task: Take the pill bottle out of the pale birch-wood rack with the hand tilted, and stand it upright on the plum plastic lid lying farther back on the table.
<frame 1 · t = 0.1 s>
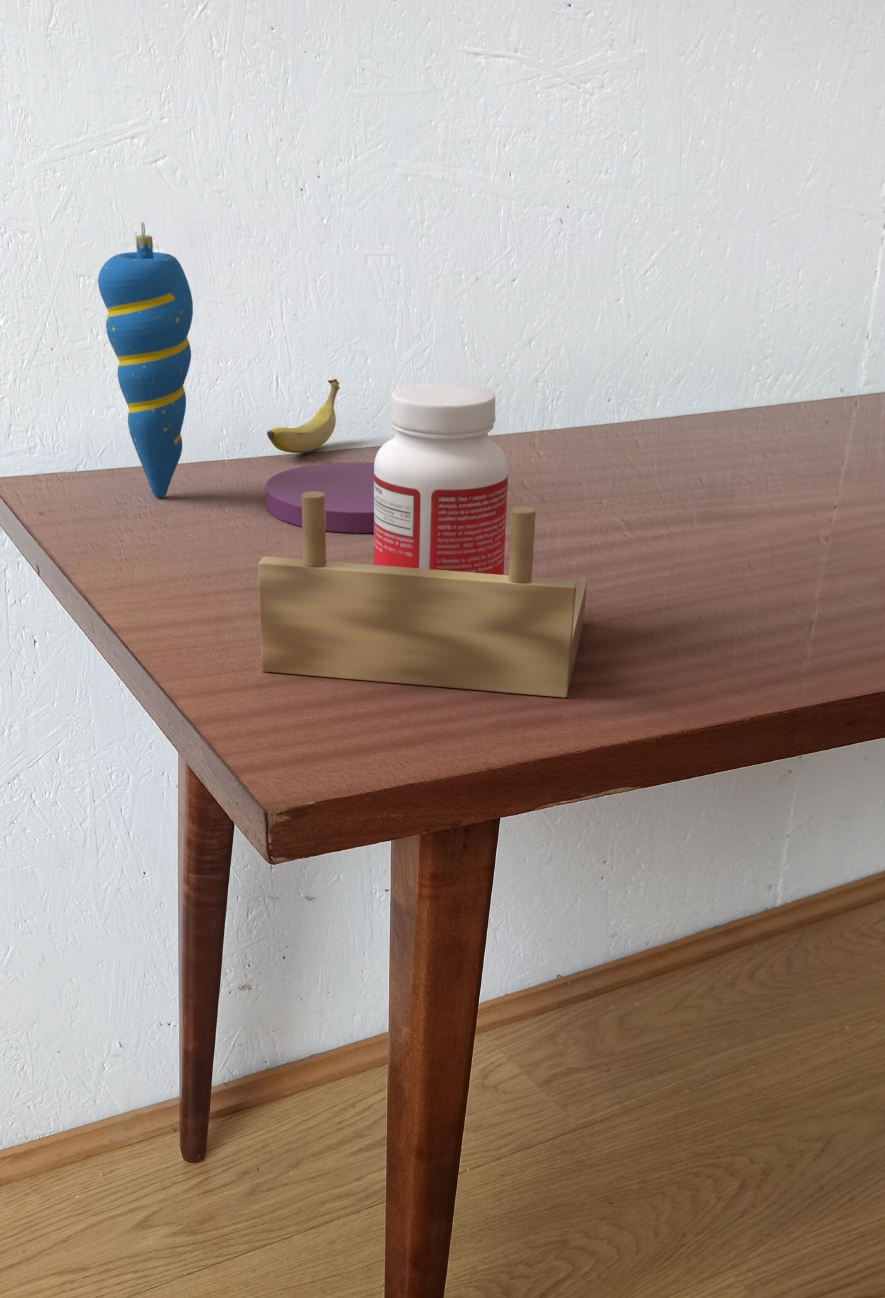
rack: (437, 631, 74), on the table
banana: (306, 453, 102), on the table
pill bottle: (436, 635, 74), on the table
ornament: (160, 499, 92), on the table
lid: (358, 506, 92), on the table
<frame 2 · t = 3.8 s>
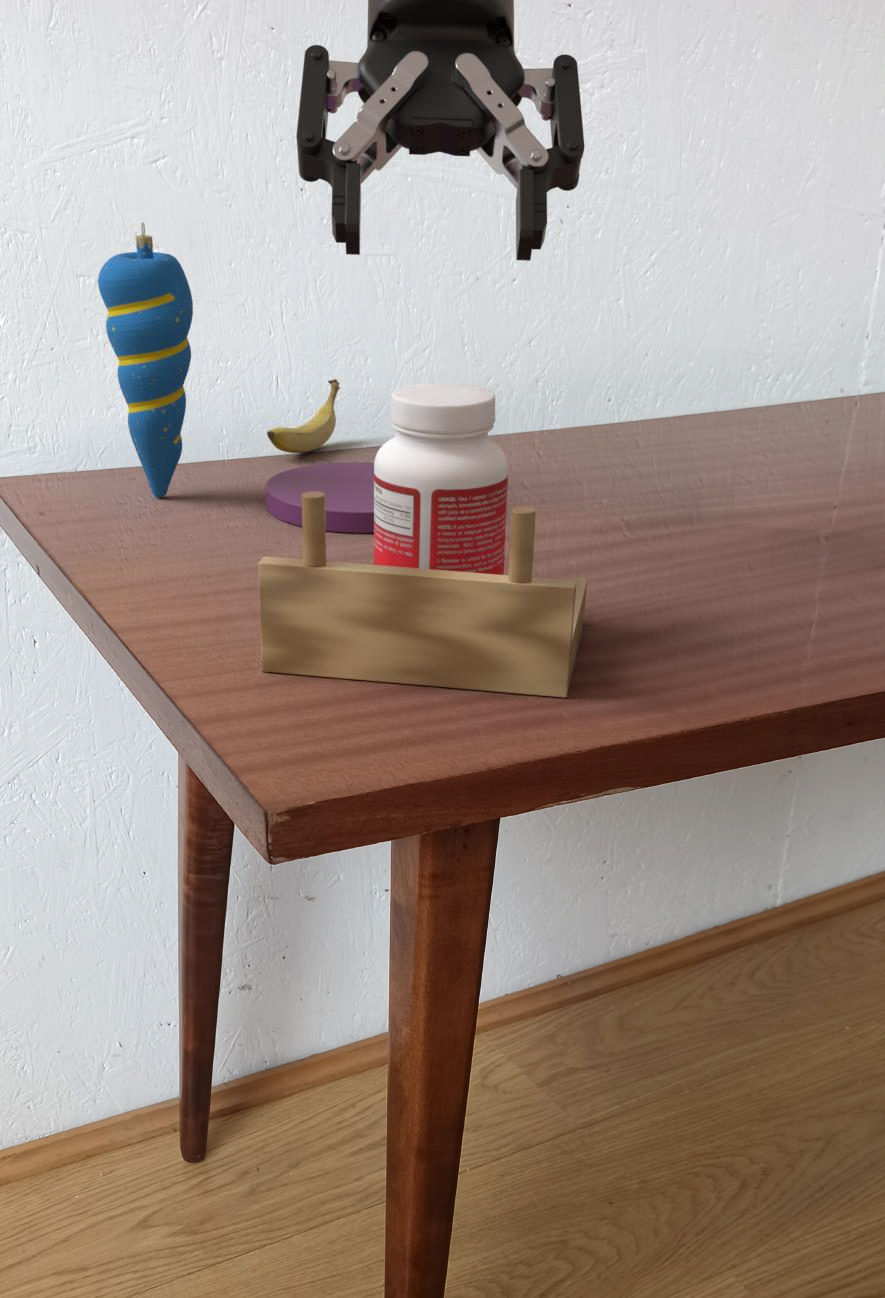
hand: (439, 247, 75), 16 cm above the table, tool tilted 45°, fingers open, 8 cm apart
nothing on the table moved.
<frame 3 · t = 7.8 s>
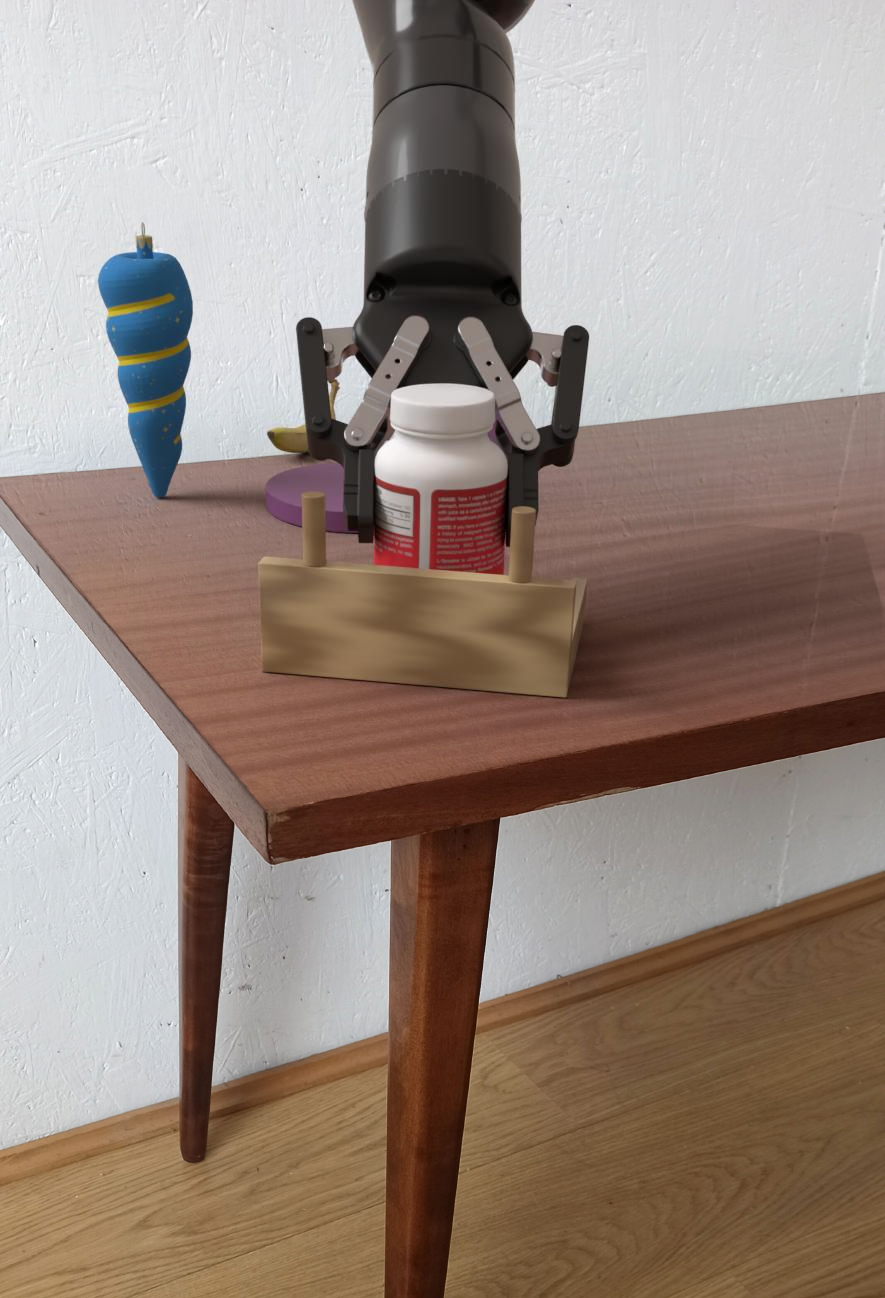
hand: (440, 536, 70), 5 cm above the table, tool tilted 45°, fingers closed on pill bottle, 6 cm apart
pill bottle: (437, 635, 74), on the table, touching gripper
everything else where it was.
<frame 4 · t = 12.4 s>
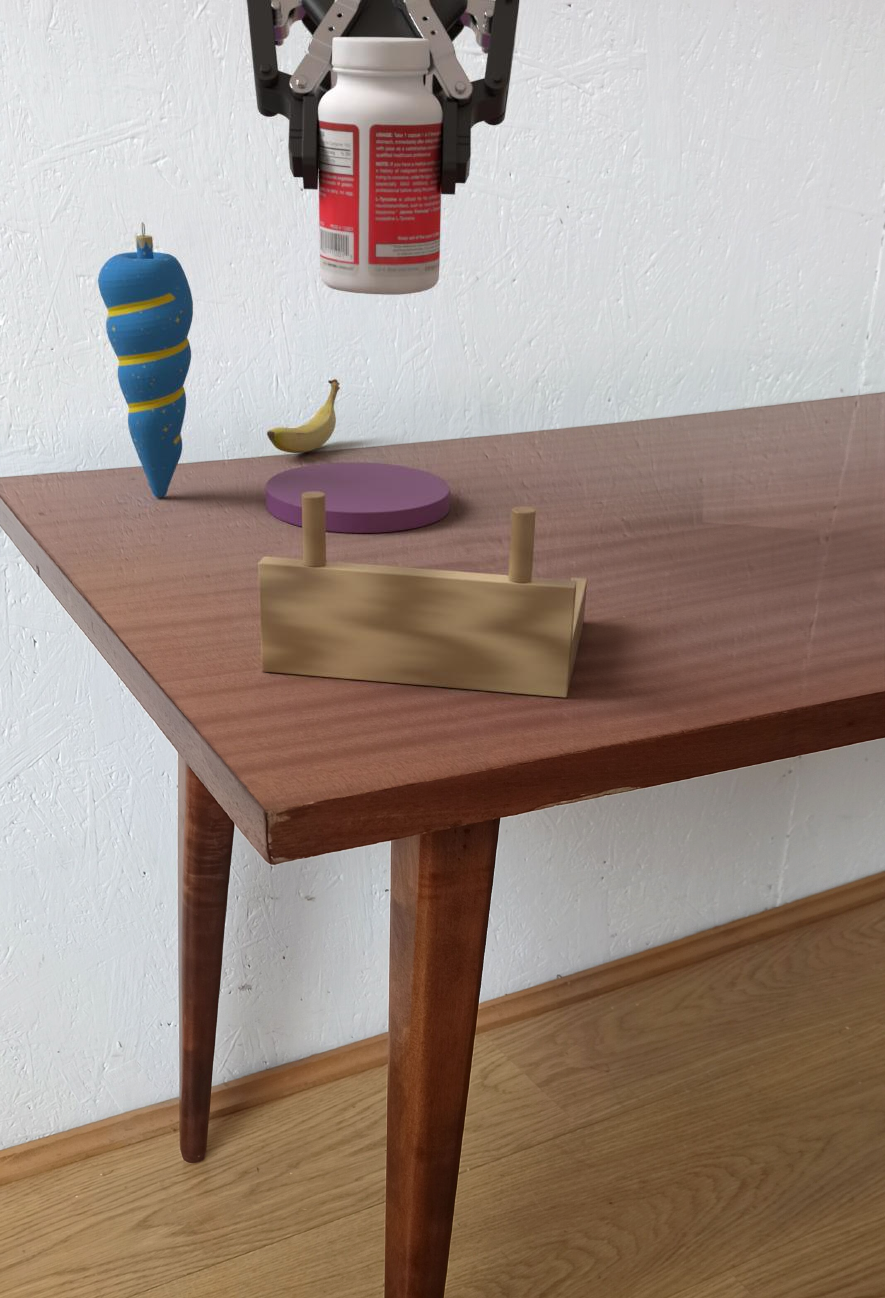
hand: (379, 179, 75), 18 cm above the table, tool tilted 45°, fingers closed on pill bottle, 6 cm apart
pill bottle: (379, 290, 79), point 13 cm above the table, touching gripper
everything else where it was.
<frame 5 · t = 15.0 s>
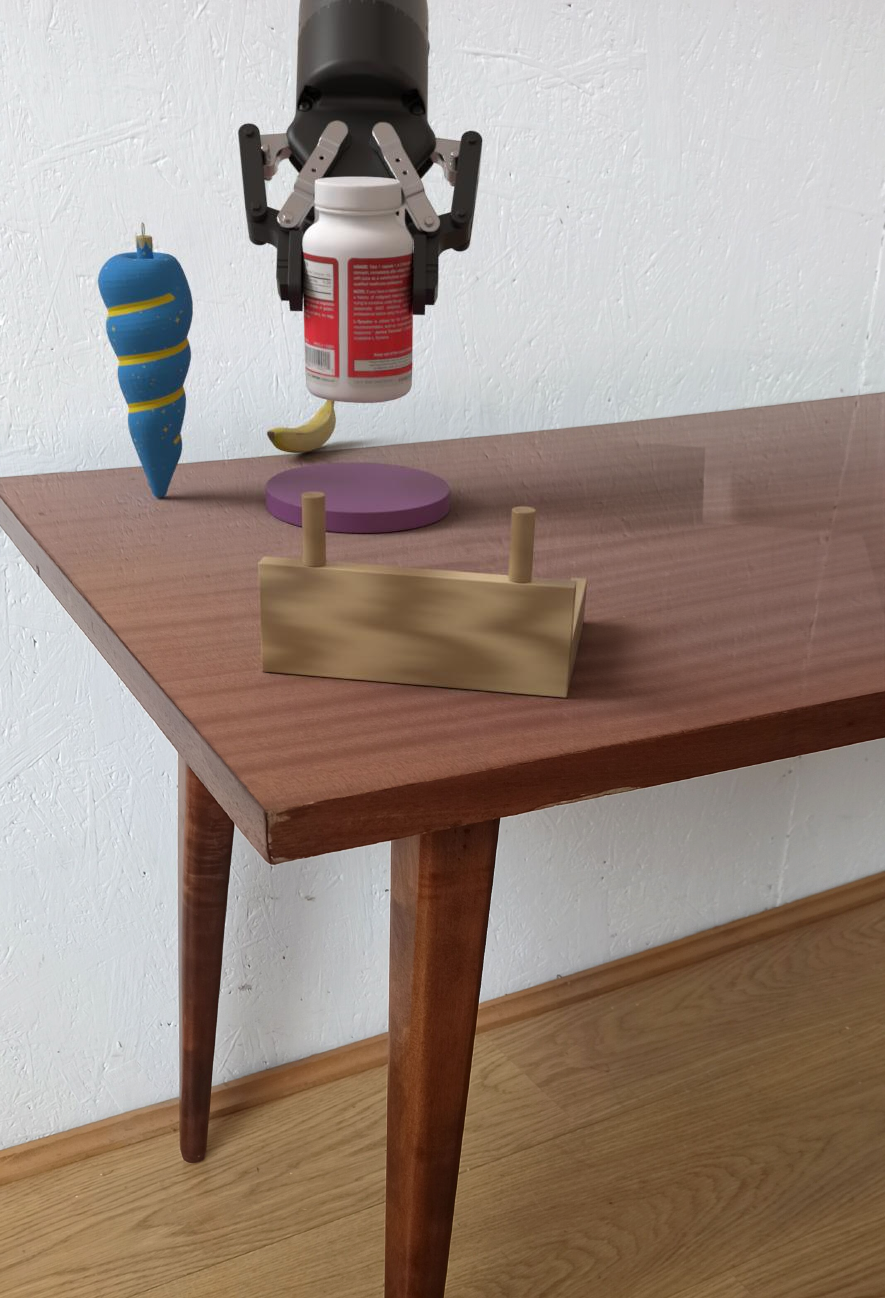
hand: (357, 303, 84), 12 cm above the table, tool tilted 45°, fingers closed on pill bottle, 6 cm apart
pill bottle: (358, 396, 88), point 6 cm above the table, touching gripper
everything else where it was.
when the fingers open (6 cm above the table, at t = 17.1 s): pill bottle stays where it is, resting on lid.
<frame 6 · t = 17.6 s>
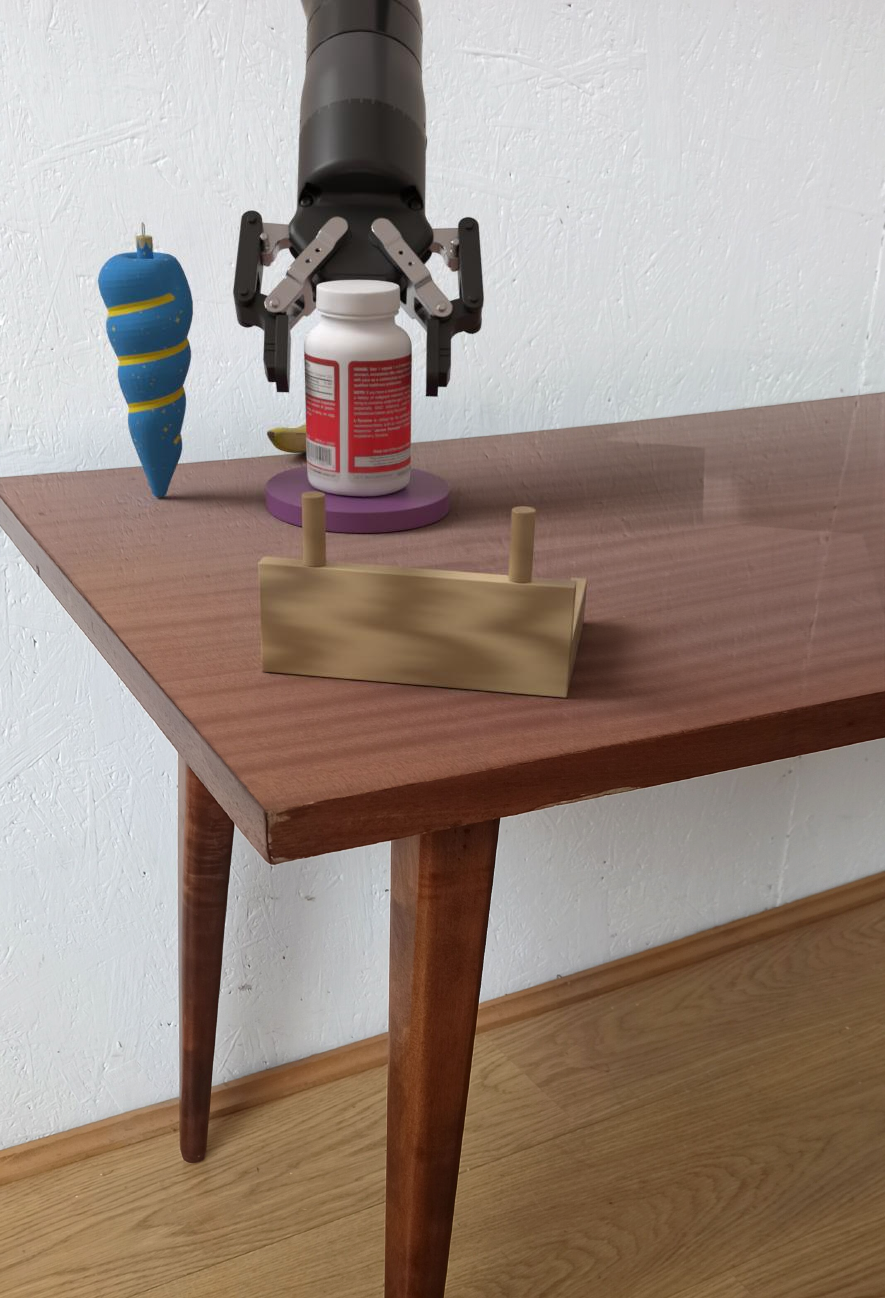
hand: (357, 386, 87), 7 cm above the table, tool tilted 45°, fingers open, 8 cm apart
pill bottle: (358, 488, 91), point 1 cm above the table, touching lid
everything else where it was.
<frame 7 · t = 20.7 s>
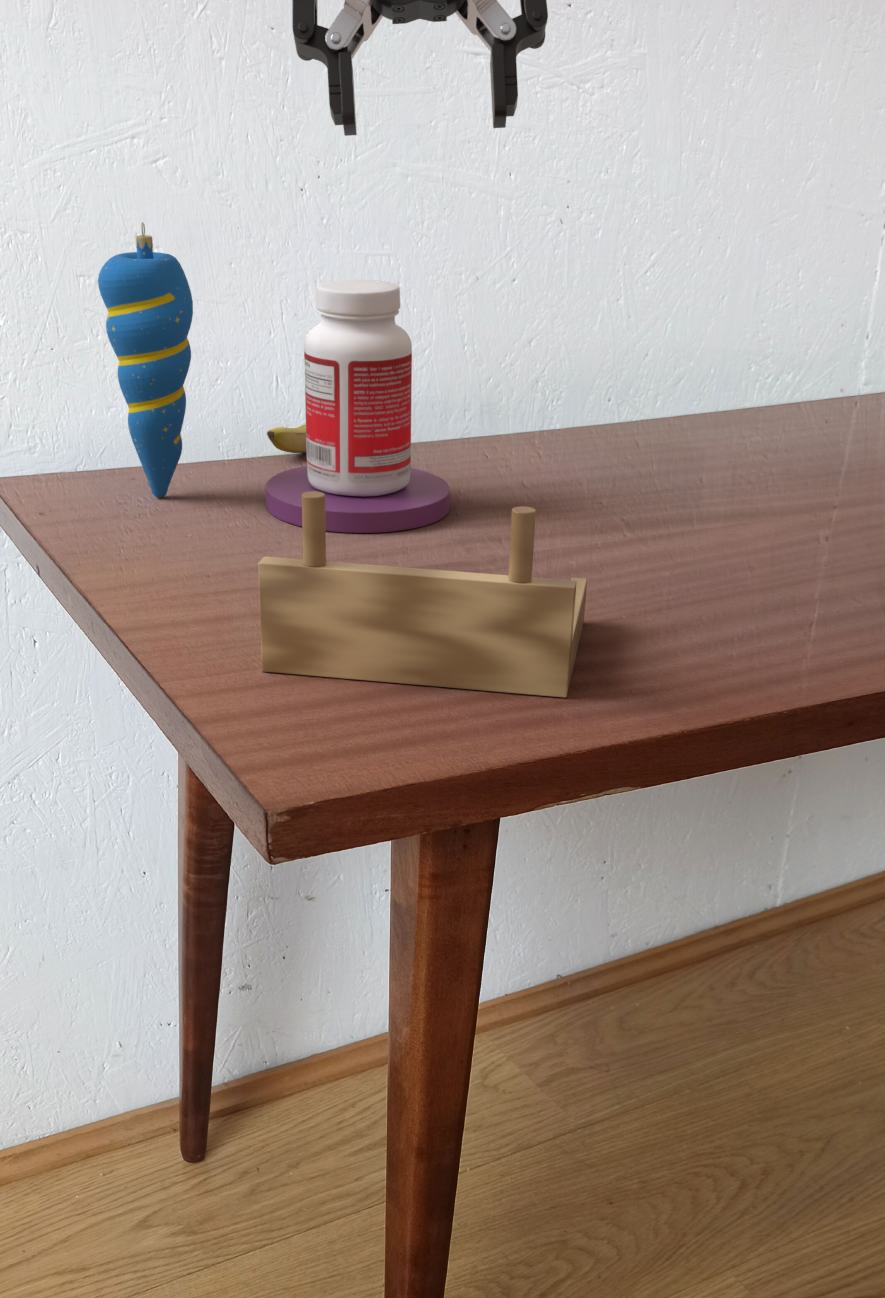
hand: (425, 126, 86), 20 cm above the table, tool tilted 30°, fingers open, 8 cm apart
nothing on the table moved.
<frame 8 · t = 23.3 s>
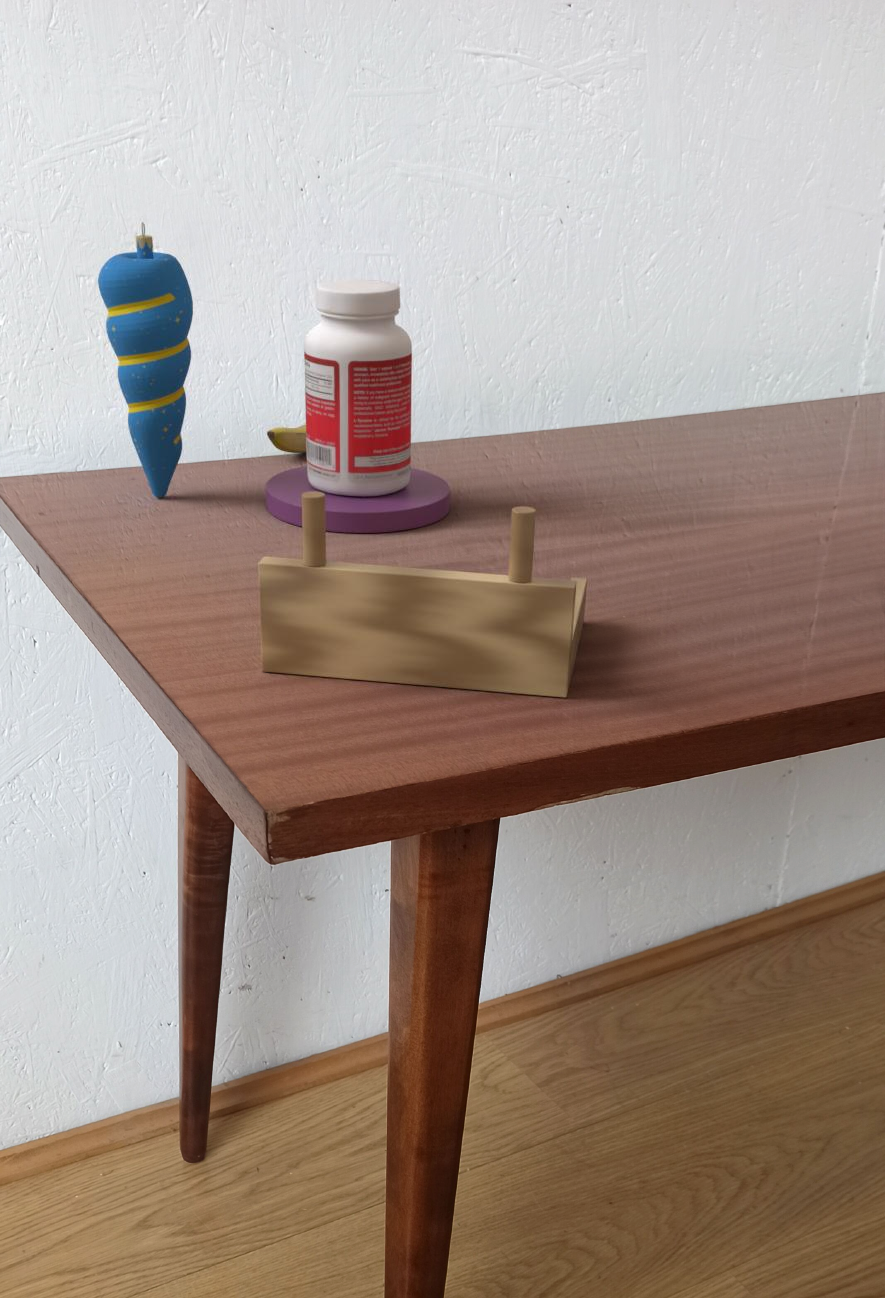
nothing on the table moved.
at the end: pill bottle 0.2 cm off-centre on the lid, point 1.0 cm above the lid's base; pill bottle tilted 0°; the gripper is holding nothing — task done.
